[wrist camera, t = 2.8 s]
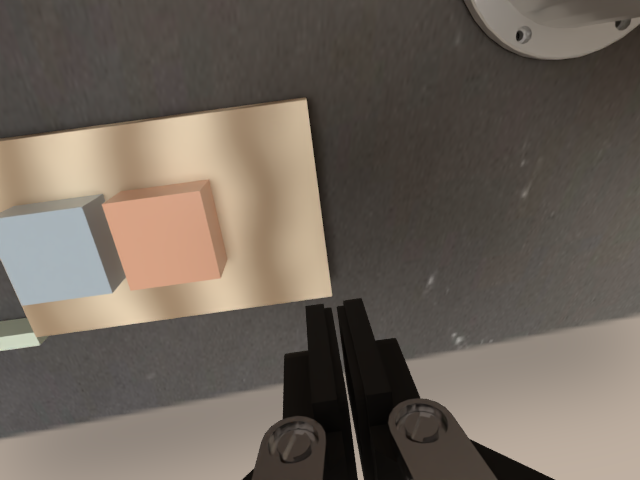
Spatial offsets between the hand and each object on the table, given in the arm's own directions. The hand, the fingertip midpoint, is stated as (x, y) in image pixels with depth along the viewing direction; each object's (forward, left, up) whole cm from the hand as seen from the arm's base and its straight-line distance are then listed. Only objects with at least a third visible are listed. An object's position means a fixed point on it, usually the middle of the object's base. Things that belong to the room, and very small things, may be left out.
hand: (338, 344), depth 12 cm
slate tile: (+14, 0, -13) cm, 19 cm away
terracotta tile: (+8, 0, -13) cm, 15 cm away
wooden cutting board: (+9, 0, -16) cm, 18 cm away
